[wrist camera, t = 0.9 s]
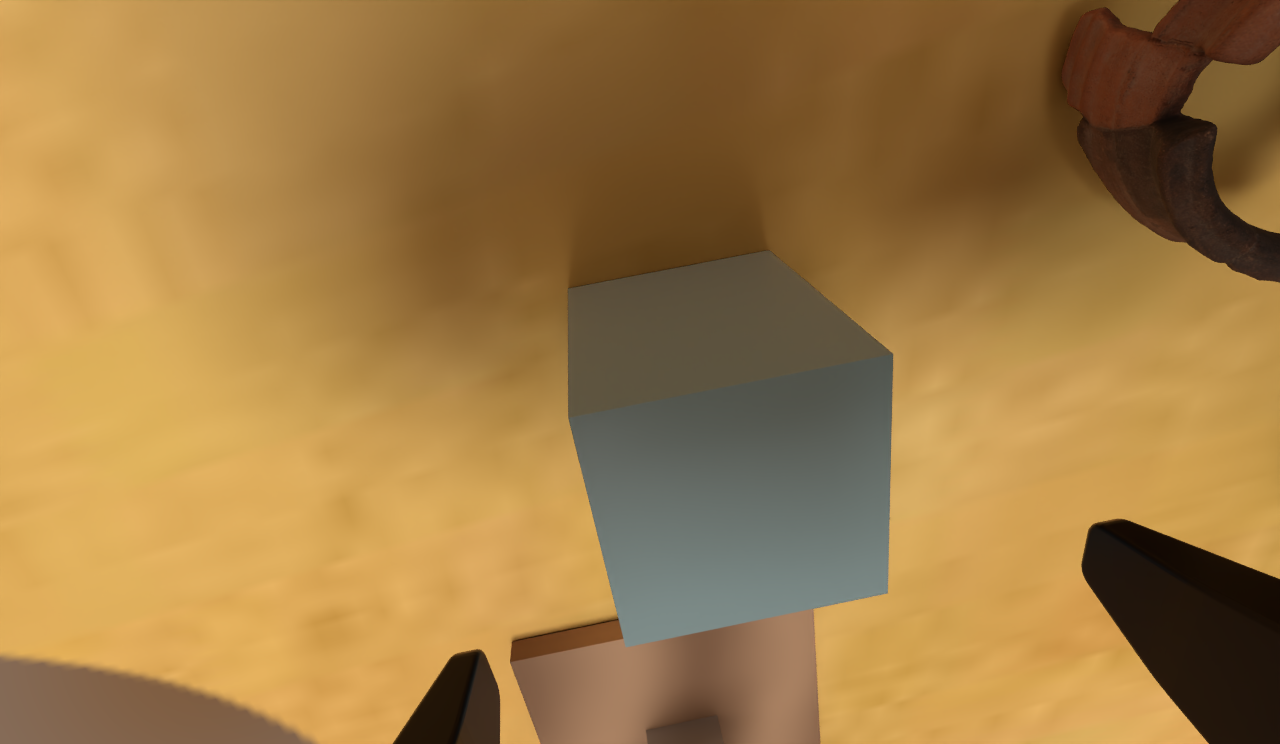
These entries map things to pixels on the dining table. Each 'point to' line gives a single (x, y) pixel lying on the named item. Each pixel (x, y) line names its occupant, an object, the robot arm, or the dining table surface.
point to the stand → (674, 685)
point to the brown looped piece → (1169, 120)
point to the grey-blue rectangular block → (729, 444)
